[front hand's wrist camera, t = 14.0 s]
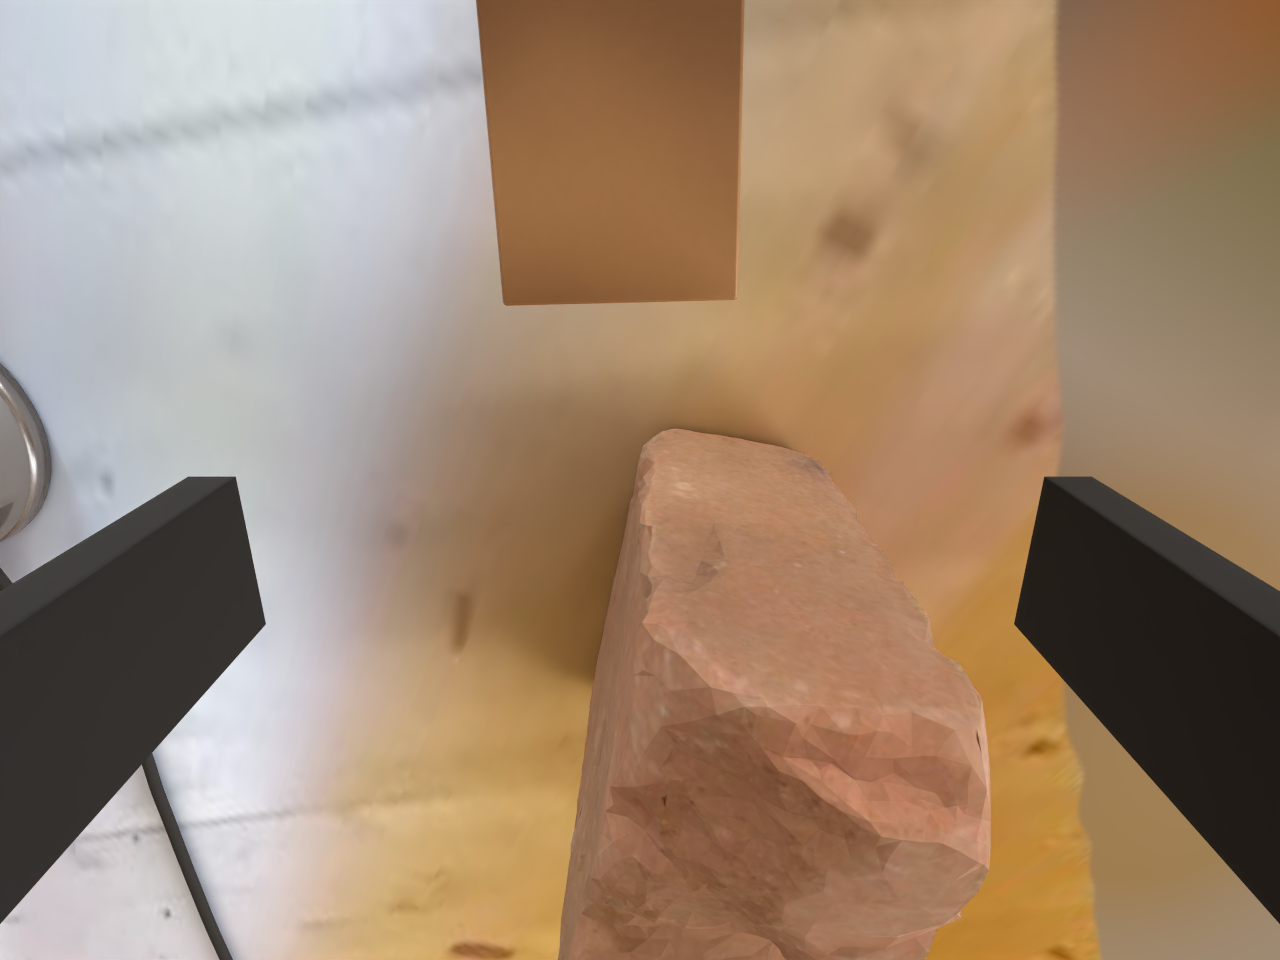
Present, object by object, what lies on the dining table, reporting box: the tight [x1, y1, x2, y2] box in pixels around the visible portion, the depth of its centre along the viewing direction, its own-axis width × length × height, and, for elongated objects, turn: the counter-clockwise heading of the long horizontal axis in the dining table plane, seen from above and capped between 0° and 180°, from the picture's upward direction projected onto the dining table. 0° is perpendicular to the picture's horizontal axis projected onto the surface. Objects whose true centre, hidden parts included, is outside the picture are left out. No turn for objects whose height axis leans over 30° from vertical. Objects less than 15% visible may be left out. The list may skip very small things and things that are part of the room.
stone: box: [558, 428, 990, 960], centre depth 36 cm, size 22×11×28 cm, turn 169°
